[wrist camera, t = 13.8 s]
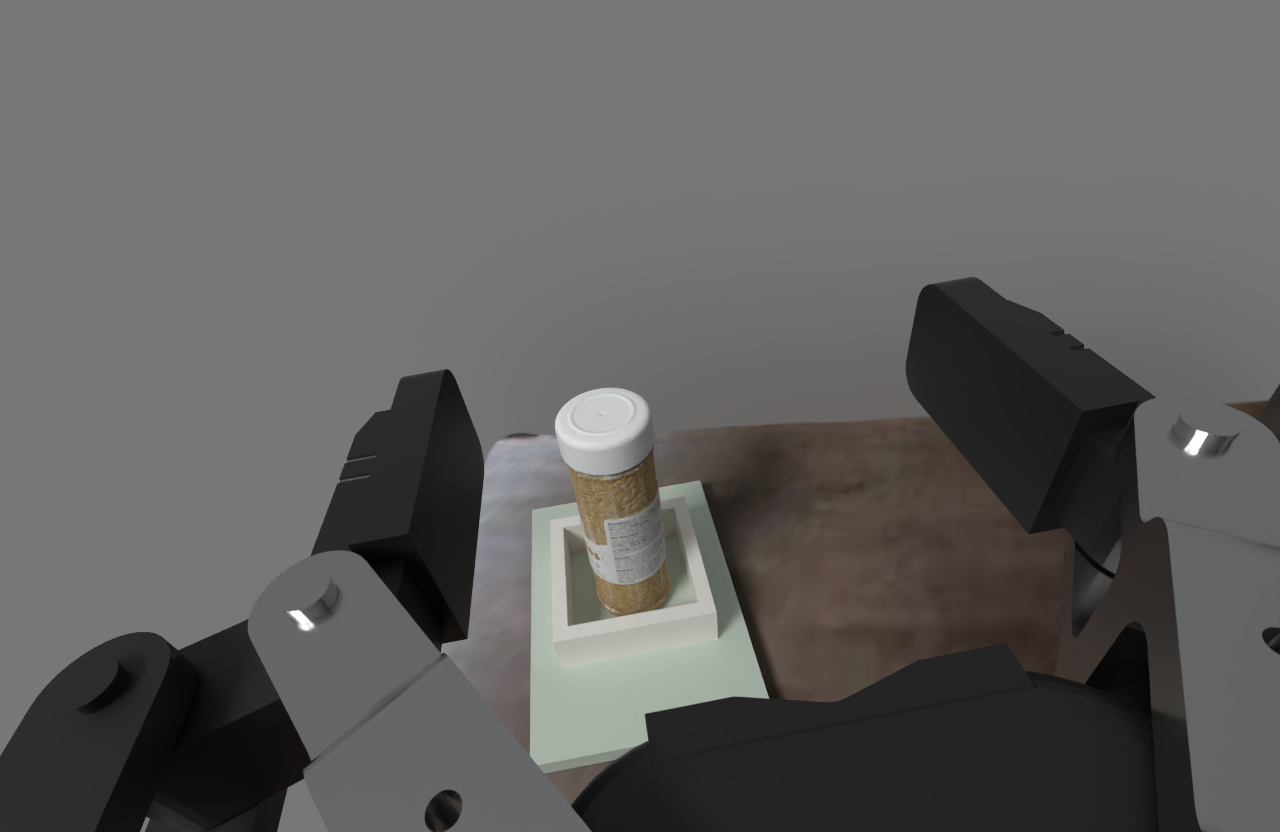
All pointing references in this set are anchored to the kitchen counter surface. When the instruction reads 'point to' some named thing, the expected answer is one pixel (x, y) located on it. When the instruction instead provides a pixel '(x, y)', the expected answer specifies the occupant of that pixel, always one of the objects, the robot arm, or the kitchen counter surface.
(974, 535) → the kitchen counter surface
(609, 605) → the spice jar
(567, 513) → the socket board
